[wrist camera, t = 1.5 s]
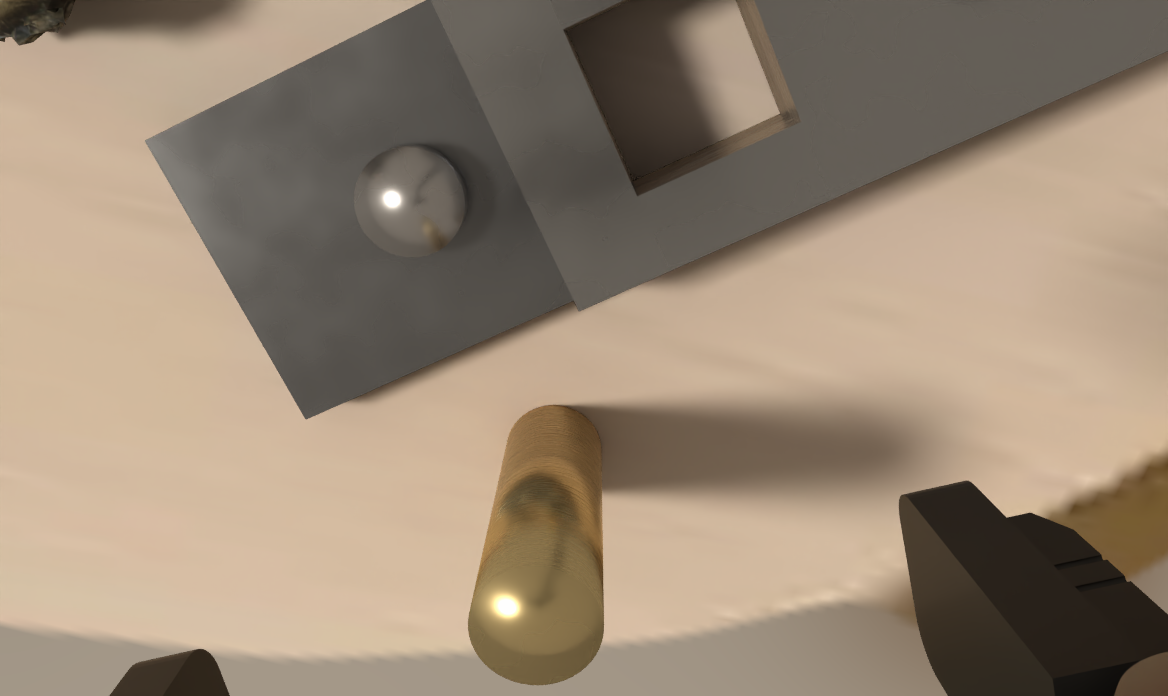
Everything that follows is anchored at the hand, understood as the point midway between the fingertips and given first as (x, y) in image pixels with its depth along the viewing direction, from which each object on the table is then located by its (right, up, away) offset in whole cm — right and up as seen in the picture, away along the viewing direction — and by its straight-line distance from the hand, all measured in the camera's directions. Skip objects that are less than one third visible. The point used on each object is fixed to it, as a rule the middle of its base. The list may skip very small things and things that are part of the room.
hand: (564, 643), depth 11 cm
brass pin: (-1, 0, +20) cm, 20 cm away
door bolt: (+3, +11, +17) cm, 20 cm away
